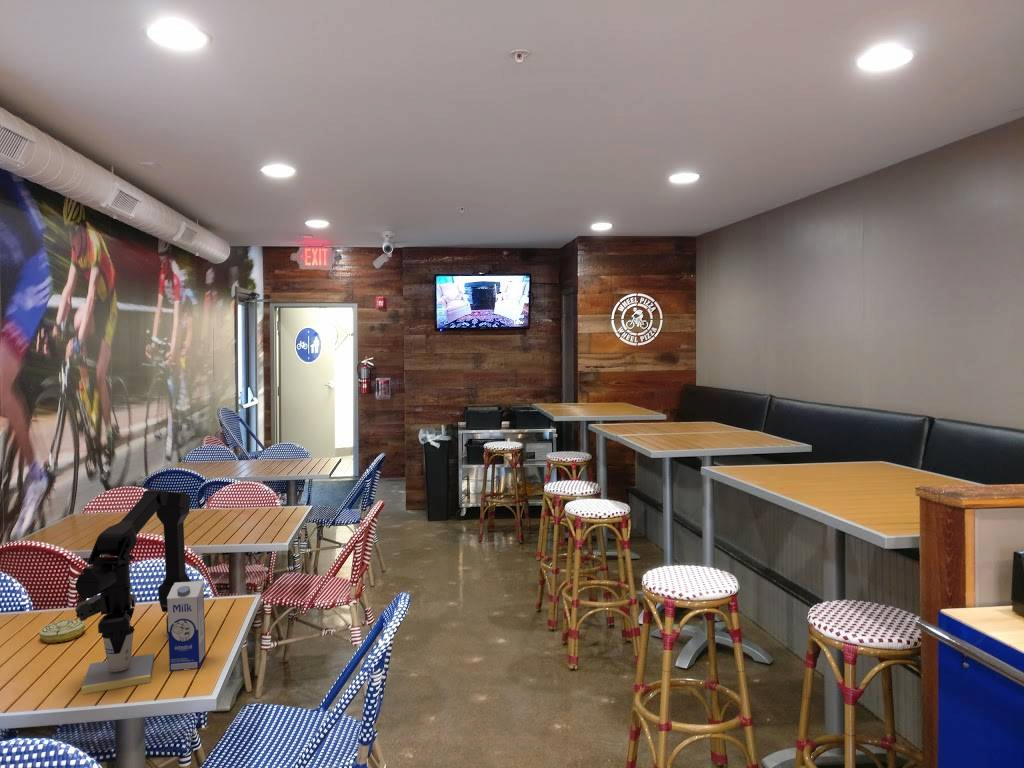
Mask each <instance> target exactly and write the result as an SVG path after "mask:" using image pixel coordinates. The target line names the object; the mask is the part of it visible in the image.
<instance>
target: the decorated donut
mask: <svg viewBox="0 0 1024 768" xmlns="http://www.w3.org/2000/svg"><path fill="white" fill-rule="evenodd" d="M84 621H85V620H84ZM84 621H80V619H63V620H60V621H55V622H51V623H49V624H47V625H44V626H43V627H42V628H41V629H40V631H39V632H38V634H39V638H40V640H42V642H43V643H47V644H58V643H57V642H61V643H64V642H63V641H67V640H70V641H72V640H71V639H73V640H75V639H74V638H76V637H77V638H79V637H80V636H81V635H82V634H83V633H84V630H85V628H86V625H85V622H84ZM77 638H76V639H77ZM67 642H68V641H67Z"/></svg>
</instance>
